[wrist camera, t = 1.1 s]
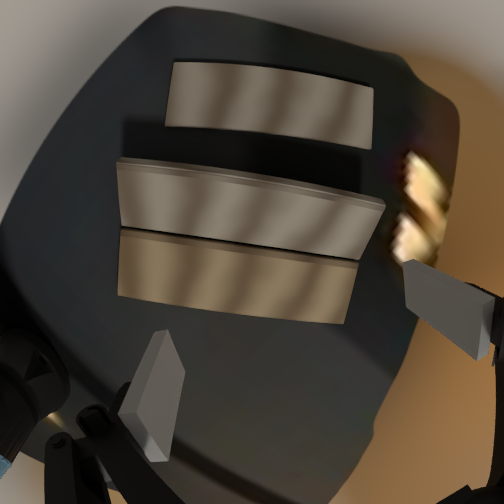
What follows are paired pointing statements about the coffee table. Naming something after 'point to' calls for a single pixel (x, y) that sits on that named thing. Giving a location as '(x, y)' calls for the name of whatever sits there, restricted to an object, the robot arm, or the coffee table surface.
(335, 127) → the plank
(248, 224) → the board
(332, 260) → the laid board
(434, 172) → the coffee table surface
